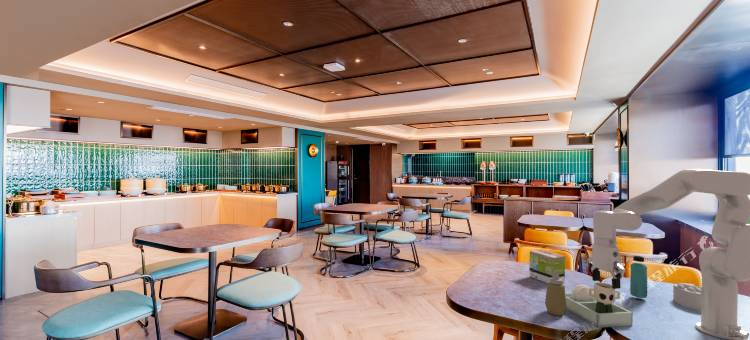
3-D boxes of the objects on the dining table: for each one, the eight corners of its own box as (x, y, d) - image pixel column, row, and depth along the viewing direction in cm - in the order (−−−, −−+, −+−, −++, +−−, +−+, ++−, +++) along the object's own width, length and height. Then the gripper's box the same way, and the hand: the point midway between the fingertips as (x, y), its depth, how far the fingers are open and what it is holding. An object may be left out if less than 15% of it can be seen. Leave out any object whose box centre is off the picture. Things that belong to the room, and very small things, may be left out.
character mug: (591, 319, 135) (592, 286, 135) (585, 312, 142) (586, 281, 142) (623, 323, 132) (624, 289, 132) (616, 315, 139) (616, 283, 139)
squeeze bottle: (547, 307, 149) (547, 266, 149) (568, 312, 144) (568, 270, 144) (542, 313, 143) (543, 270, 142) (564, 319, 137) (565, 274, 137)
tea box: (528, 277, 191) (528, 250, 191) (541, 275, 195) (541, 249, 195) (552, 285, 177) (552, 257, 177) (565, 283, 181) (565, 255, 181)
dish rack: (632, 325, 133) (632, 312, 133) (597, 327, 130) (598, 314, 130) (589, 303, 154) (589, 292, 154) (558, 304, 152) (559, 293, 152)
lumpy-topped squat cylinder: (697, 301, 159) (697, 282, 159) (715, 312, 146) (715, 292, 146) (669, 298, 162) (670, 280, 162) (685, 308, 149) (685, 289, 149)
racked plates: (595, 307, 147) (595, 286, 147) (576, 308, 145) (577, 287, 145) (589, 304, 150) (590, 284, 150) (571, 305, 149) (571, 285, 149)
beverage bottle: (650, 302, 156) (651, 258, 156) (634, 300, 158) (634, 257, 158) (642, 296, 163) (643, 255, 163) (626, 295, 164) (627, 254, 164)
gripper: (632, 245, 129) (633, 291, 129) (596, 237, 146) (597, 277, 146) (614, 246, 128) (615, 292, 128) (580, 238, 145) (581, 278, 145)
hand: (606, 284), depth 137 cm, fingers open, 9 cm apart
